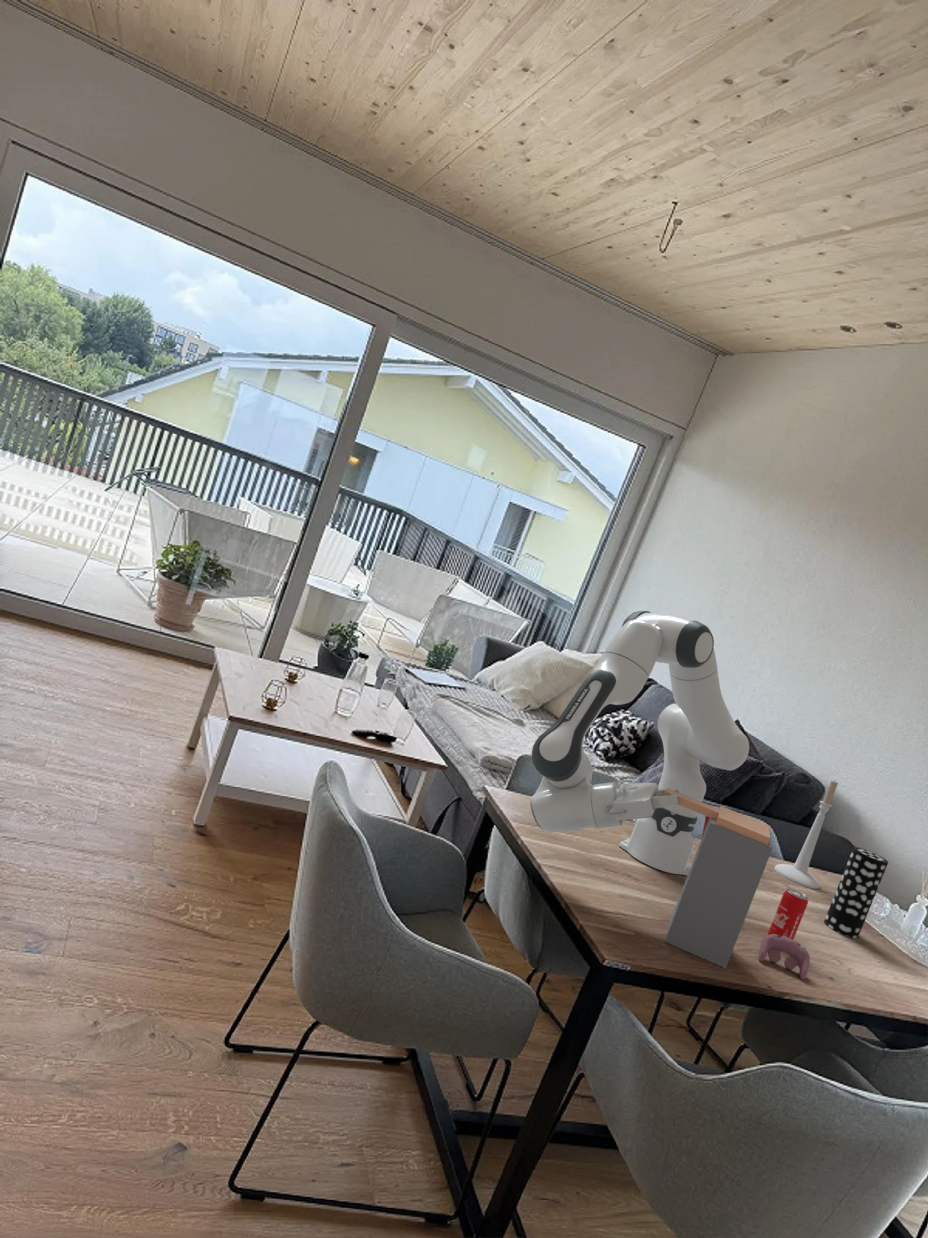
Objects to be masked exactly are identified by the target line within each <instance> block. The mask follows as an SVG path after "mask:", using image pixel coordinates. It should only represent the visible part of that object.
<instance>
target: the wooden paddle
mask: <svg viewBox="0 0 928 1238" xmlns="http://www.w3.org/2000/svg"><path fill="white" fill-rule="evenodd" d="M670 794H677V796H678V803H677V804H678V805H681V806H683V807H685V808H688V809H690V810H693V811H695V812H698V814H700V815H703V816H707V817H710V818H712V819H715V820H716V825H719V826H721V827H724V828H726V829H729V830H731V831H734V832H736V833H738V834H741V835H743V836H746V837H748V838H751V839H753V840H756V841H758V842H760V843H763V844H765V845H768V842H769V840H770V833H771V832H770V827H769V826H770V825H769V824H768V823H767V824H766V823H765V822H762V821H760V820H757V819H754V818H752V817H750V816H747V815H745V814H742V813H739V812H737V811H734V810H732V809H730V808H727V807H724V806H722V805H719V807H718V808H719V809H718V808H715V807H716V806H712V805H710V804H708V803H705V802H703V801H702V802H700V801H698V800H696V799H693V798H691V797H688V796H686V795H683V794H681V793H678V792H676V791H673V790H671V789H668V788H666V790H665V793H664V795H663V796H666V795H670Z"/></svg>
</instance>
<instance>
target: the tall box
mask: <svg viewBox="0 0 928 1238" xmlns="http://www.w3.org/2000/svg"><path fill="white" fill-rule="evenodd" d="M769 833H770V840H769V842H768V845H765V844H763V843H760V842H758V841H756V840H753V839H751V838H748V837H746V836H743V835H741V834H738V833H736V832H734V831H731V830H729V829H726V828H724V827H721V826H719V825H716V820H715V819H712V818H709V821H708V823H707V826H706V829H705V831H704V834H703V836H702V835H701V839H700V842H699V845H698V847H697V850H696V851H695V852H696V853H695V855H694V857H693V860H692V864H691V865H690V867H691V868H690V871H689V873H688V876H686V879H685V881H684V885H683V886H682V889H681V892H680V894H679V896H678V899H677V902H676V906H675V907H674V911H673V913H672V915H671V917H670V921H669V924H668V928H667V933H666V936H665V943H668V944H669V945H672V946H674V947H675V948H678V949H680V950H683V951H685V952H687V953H689V952H690V954H691V955H694V956H696V955H697V956H696V957H698V956H699V958H700V957H701V958H700V959H703V960H705V959H706V961H707V962H709V961H710V962H709V963H712V964H714V963H715V964H714V965H716V964H718V965H719V967H720V966H722V967H721V968H723V969H725V968H726V969H727V966H728V964H729V961H730V959H731V956H732V953H733V951H734V948H735V945H736V943H737V940H738V938H739V936H740V932H742V931H741V930H742V928H743V925H744V923H745V921H746V917H747V915H748V912H749V909H750V907H751V905H752V902H753V900H754V897H755V894H756V892H757V889H758V887H759V884H760V882H761V879H762V876H763V874H764V871H765V869H766V866H767V863H768V861H769V858H770V856H771V854H772V852H773V847H774V846H773V842H772V834H771V832H769ZM718 965H717V966H718Z"/></svg>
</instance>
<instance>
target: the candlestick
mask: <svg viewBox="0 0 928 1238" xmlns="http://www.w3.org/2000/svg"><path fill="white" fill-rule="evenodd" d="M838 784H839V783H838V781H836V780H830V782H829V785H828V787H827V789H826V793H825V795H824V797H823V800H819V803H820V805H819V812H818V813H817V814H816V817H815V820H814V822H813V823H812V826H811V827H810V830H809V833H808V835H807V837H806V839H805V841H804V843H803V846H802V848H801V850H800V852H799V854H798V856H797V858H796V861H795V863H793V865H792V864H787V863H780V864H779V863H778V864H775V866H774V871H776V873H777V874H779V875H780V876H781V877H783V878H785V879H787V880H789V881H791V882H793V883H795V884H798V885H800V886H802V887H805V888H809V889H814V890H819V889H820V888H821V884H820V882H819V880H818V879H817V878H816V877H815V876H813V875H812V874H811V873H810V872H809V871H808V869H809V866H810V863H811V859H812V857H813V854H814V850H815V848H816V846H817V845H816V844H817V841H818V838H819V835H820V833H821V830H822V826H823V823H824V820H825V818H826V813H827V812H829V810H830V808H832V807H833V805H831V802H832V800H833V798H834V794H835V792H836V789H837V787H838Z"/></svg>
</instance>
